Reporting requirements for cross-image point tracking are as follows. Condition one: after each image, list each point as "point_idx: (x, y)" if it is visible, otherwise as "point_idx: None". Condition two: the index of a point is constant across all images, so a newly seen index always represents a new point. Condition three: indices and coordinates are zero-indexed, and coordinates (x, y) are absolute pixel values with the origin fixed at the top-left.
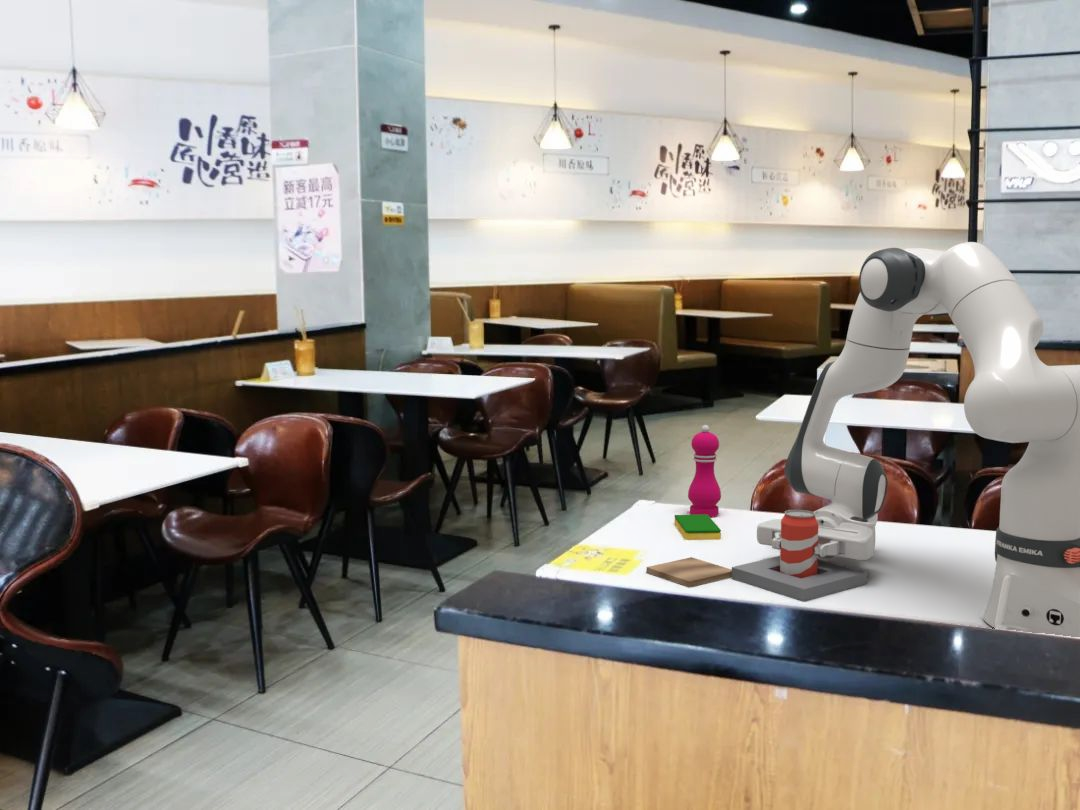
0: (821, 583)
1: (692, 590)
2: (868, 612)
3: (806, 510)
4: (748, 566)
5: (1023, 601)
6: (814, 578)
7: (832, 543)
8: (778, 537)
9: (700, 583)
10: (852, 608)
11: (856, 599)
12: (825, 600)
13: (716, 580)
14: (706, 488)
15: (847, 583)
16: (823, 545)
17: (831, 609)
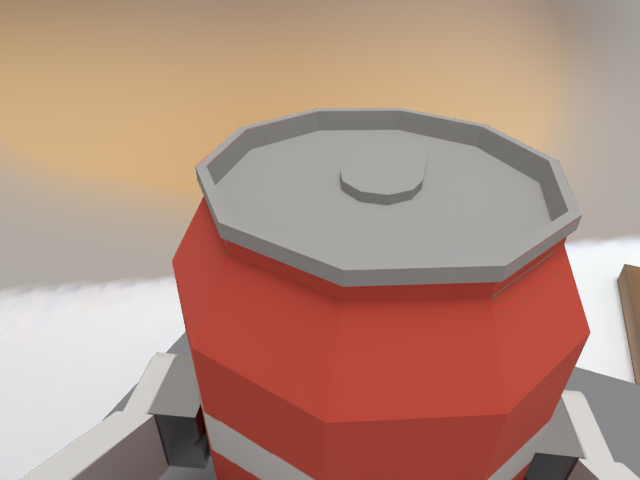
0: (184, 347)
1: (585, 265)
2: (28, 300)
3: (368, 264)
4: (610, 437)
5: None
6: None
7: (61, 455)
8: (584, 448)
9: (624, 305)
10: (78, 310)
11: (38, 400)
12: (172, 341)
13: (634, 366)
14: None
15: None
16: (152, 381)
17: (151, 282)
